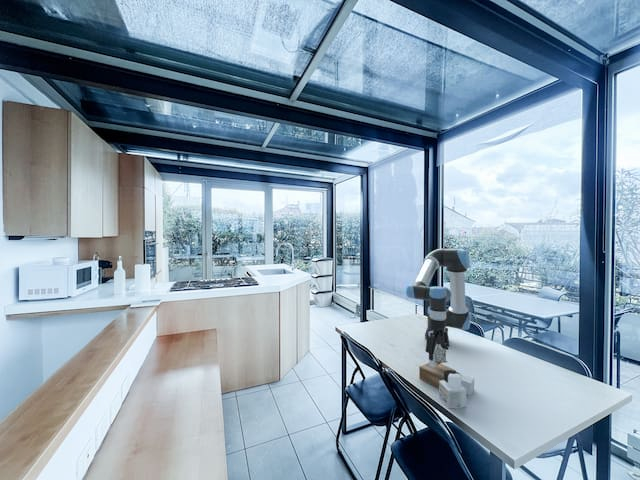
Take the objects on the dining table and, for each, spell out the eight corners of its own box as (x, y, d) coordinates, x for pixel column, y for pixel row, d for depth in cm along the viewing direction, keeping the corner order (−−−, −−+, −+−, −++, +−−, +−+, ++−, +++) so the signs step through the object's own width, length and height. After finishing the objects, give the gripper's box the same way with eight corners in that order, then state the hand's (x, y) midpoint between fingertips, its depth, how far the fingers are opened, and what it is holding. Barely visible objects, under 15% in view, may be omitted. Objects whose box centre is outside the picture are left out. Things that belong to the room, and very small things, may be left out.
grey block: (459, 385, 125) (460, 373, 125) (474, 390, 121) (474, 377, 120) (456, 391, 120) (456, 378, 120) (470, 396, 116) (470, 383, 116)
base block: (434, 372, 137) (434, 360, 137) (456, 382, 127) (456, 370, 127) (419, 378, 131) (419, 366, 131) (441, 390, 121) (441, 377, 121)
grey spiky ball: (449, 371, 124) (449, 350, 124) (430, 368, 125) (430, 348, 126) (444, 362, 132) (444, 343, 133) (426, 360, 134) (427, 341, 134)
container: (438, 397, 115) (438, 368, 115) (455, 396, 116) (455, 367, 116) (448, 409, 108) (448, 377, 107) (466, 408, 108) (466, 376, 108)
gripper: (443, 313, 138) (443, 355, 138) (417, 319, 126) (417, 366, 127) (457, 316, 131) (457, 361, 131) (431, 324, 120) (431, 373, 120)
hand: (437, 363), depth 129 cm, fingers closed on grey spiky ball, 8 cm apart
